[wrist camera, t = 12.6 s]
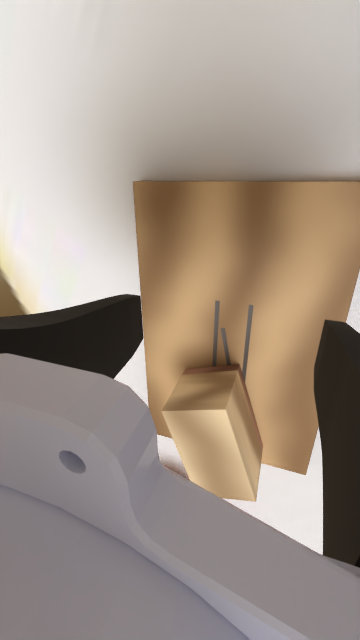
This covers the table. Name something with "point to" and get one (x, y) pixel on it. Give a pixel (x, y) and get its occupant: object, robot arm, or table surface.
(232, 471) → the block
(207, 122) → the table surface
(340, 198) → the oak board
